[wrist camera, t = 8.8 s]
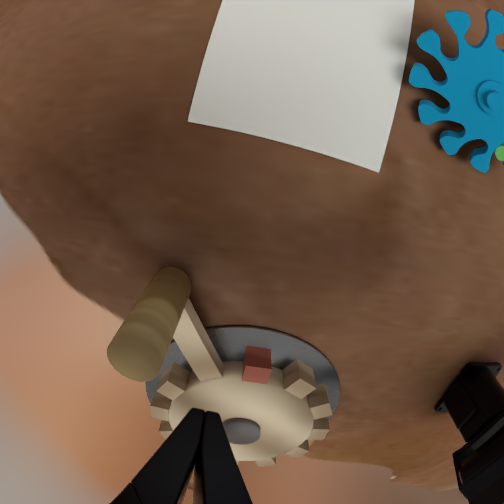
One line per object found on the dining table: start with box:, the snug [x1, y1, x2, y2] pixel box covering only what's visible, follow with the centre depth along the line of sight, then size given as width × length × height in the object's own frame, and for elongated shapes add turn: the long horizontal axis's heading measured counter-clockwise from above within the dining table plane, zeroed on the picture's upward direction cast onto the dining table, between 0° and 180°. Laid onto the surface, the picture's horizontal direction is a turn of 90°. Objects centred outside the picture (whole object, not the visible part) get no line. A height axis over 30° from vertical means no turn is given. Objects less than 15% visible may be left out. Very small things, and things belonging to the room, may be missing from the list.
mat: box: [188, 0, 414, 173], centre depth 13 cm, size 11×13×1 cm
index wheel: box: [107, 267, 333, 467], centre depth 18 cm, size 14×18×7 cm
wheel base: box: [146, 325, 340, 420], centre depth 22 cm, size 16×16×1 cm
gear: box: [409, 9, 504, 173], centre depth 11 cm, size 11×6×10 cm
